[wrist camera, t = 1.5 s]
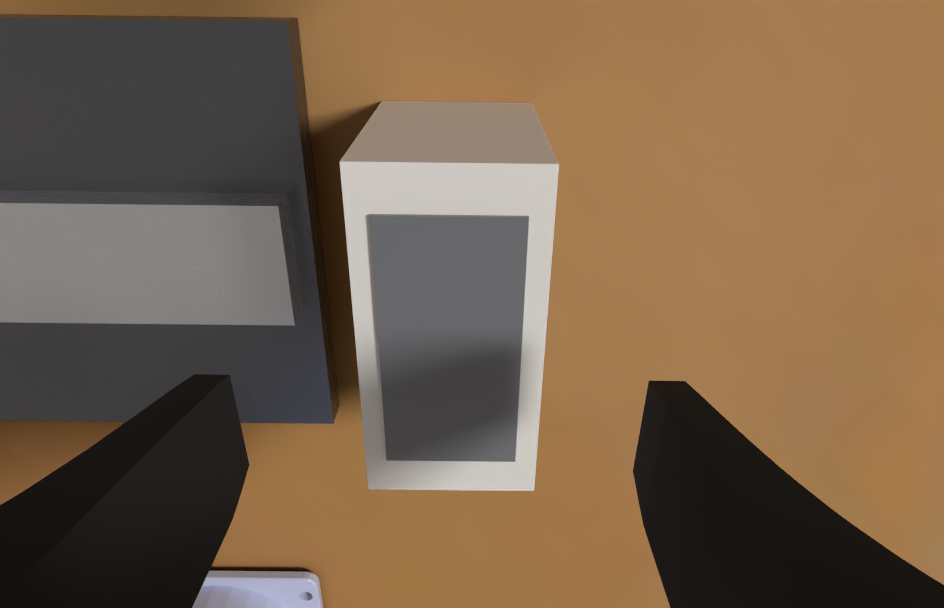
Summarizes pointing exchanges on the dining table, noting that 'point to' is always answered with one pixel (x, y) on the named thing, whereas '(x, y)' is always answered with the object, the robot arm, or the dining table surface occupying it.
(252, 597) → the robot arm
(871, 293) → the dining table surface
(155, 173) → the rail backplate
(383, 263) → the block
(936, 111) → the dining table surface
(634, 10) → the dining table surface
